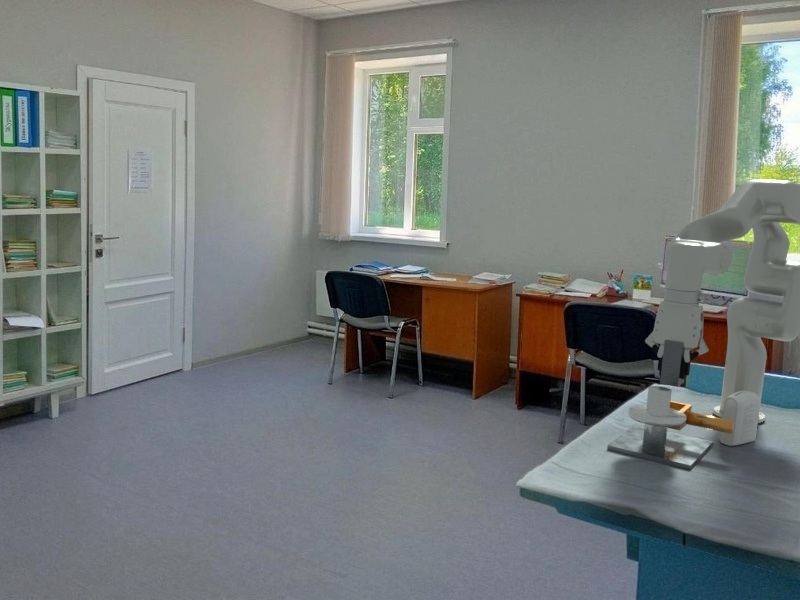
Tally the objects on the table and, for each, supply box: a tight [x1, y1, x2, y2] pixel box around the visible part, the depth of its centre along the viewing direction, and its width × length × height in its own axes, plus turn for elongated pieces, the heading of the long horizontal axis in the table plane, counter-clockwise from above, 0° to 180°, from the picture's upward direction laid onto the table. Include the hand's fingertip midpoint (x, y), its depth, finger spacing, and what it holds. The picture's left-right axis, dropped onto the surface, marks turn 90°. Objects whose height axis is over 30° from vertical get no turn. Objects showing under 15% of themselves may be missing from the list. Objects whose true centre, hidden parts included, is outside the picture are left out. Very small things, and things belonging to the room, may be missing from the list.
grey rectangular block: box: [659, 340, 685, 388], centre depth 172 cm, size 5×4×10 cm
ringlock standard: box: [606, 385, 734, 471], centre depth 169 cm, size 22×23×15 cm
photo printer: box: [719, 391, 761, 447], centre depth 177 cm, size 10×4×12 cm, turn 123°
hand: (672, 375), depth 172 cm, fingers closed on grey rectangular block, 4 cm apart
